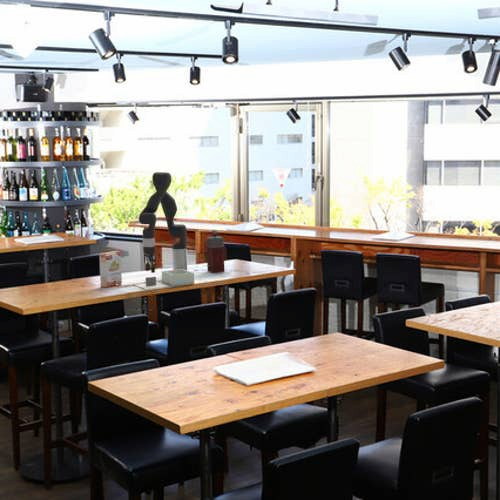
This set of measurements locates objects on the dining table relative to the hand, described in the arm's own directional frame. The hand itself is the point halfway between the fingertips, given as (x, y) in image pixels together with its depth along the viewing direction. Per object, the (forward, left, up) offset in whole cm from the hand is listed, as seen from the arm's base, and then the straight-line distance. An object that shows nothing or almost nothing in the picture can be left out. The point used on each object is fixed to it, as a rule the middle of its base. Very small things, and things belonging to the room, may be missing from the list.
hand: (150, 271), depth 520 cm
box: (0, +18, -9) cm, 20 cm away
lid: (0, 0, -10) cm, 10 cm away
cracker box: (-18, -19, -9) cm, 28 cm away
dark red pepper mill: (-25, +58, -9) cm, 64 cm away
